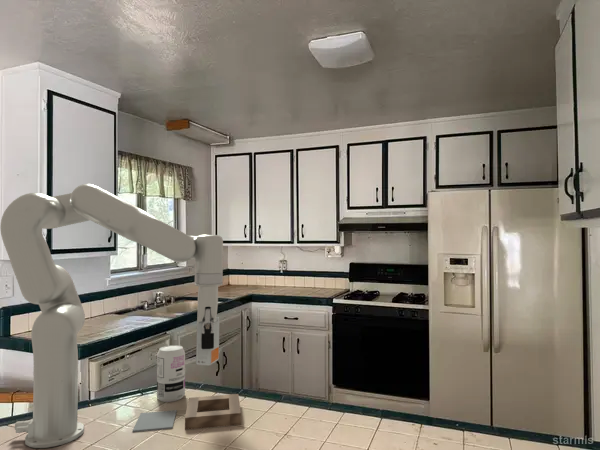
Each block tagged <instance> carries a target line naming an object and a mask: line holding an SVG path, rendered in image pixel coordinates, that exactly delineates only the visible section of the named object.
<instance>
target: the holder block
mask: <svg viewBox="0 0 600 450" xmlns="http://www.w3.org/2000/svg"><path fill="white" fill-rule="evenodd" d="M239 395H240V394H238V393H233V394H223V395H221V394H220V395H219V394H218V395H208V396H198V397H197V396H194V397H188V400H187V406H186V410H185V415H184V431H186V430H198V429H210V428H221V427H231V426H241V425H242V424H241V423H242V419H241V418H242V417H241V415H242V413H241V412H242V411H241V404H240V397H239Z"/></svg>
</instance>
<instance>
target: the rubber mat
mask: <svg viewBox="0 0 600 450" xmlns="http://www.w3.org/2000/svg"><path fill="white" fill-rule="evenodd" d="M177 412H178V410H177V409H174V410H164V411H163V410H161V411H160V410H159V411H151V412H140V414H139V416H138V418H137V421H136V423H135V424H134V426H133V429H132V433H136V432H138V433H139V432H148V431H158V430H172V429H174V424H175V420H176V416H177Z"/></svg>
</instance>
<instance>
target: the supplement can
mask: <svg viewBox="0 0 600 450" xmlns="http://www.w3.org/2000/svg"><path fill="white" fill-rule="evenodd" d="M185 395H186V352H185V349H184V347H183V346H182V345H178V344H177V345H176V344H174V345H165V346H161V347H159V349H158V352H157V353H156V398H157V399H158V401H160V402H164V403H165V402H167V403H168V402H169V403H170V402H171V403H173V402H177V401H179V400H181V399H183V397H184V396H185Z"/></svg>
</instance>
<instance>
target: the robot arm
mask: <svg viewBox="0 0 600 450" xmlns="http://www.w3.org/2000/svg"><path fill="white" fill-rule="evenodd" d="M88 221H91V222H93V223H95V224H98V225H100V226H101V227H103V228H105V229H107V230H108V231H111V232H113V233H115V234H117V235H119V236H120V237H123V238H124V239H125V240H126V239H127V240H129V241H131V242H135V243H137V244H138V245H141V246H143V247H145V248H147V249H149V250H150V251H153V252H155V253H157V254H159V255H161V256H163V257H165V258H167V259H168V260H171V261H173V262H175V263H185V262H188V261H193V260H194V286H196V287H198V290H197V313H196V314H197V317H196V318H197V319H196V323H197V322H198V323H200V322H202V320H203V328H202V338H201V348H202V349H213V348H214V333H213V323H214V322H216V317H218V316H217V314H218V306H219V304H218V303H219V286H224V285H223V281H224V280H223V279H224V278H223V277H224V276H223V275H224V273H223V272H224V271H223V270H224V267H223V265H224V263H223V262H224V261H223V260H224V259H223V258H224V240H223V237H222V236H220V235H218V234H199V235H188V234H187V233H185V232H183V231H180V230H179V229H177V228H175V227H173V226H172V225H170V224H168V223H165V222H164V221H162V220H160V219H157V218H156V217H154V216H153V215H151V214H149V213H148V212H147V211H145V210H144V209H141V208H140V207H138V206H136V205H133V204H132V203H131V202H128V201H126V200H124V199H123V198H120V197H119V196H117V195H115V194H114V193H111V192H109V191H107V190H105V189H104V188H101V187H99V186H97V185H94V184H91V183H84V184H80V185H78V186H77V187H75V188H74V189H73V191H72V192H71V193H70V192H69V193H66V194H59V195H55V196H49V195H47V194H44V193H40V192H29V193H25V194H23V195H20V196H18V197H17V198H15V199H14V200H13V201H12V202H11V203H10V204H9V205H8V206H7V207H6V208H5V210H4V212H3V214H2V216H1V220H0V234H1V239H2V242H3V246H4V248H5V250H6V253H7V255H8V258H9V261H10V265H11V268H12V270H13V273H14V276H15V279H16V281H17V285H18V287H19V289H20V292H21V295H22V297H23V298H24V299H25V301H27V302H28V303H31V304H33V305H38V307H39V309H40V311H41V313H40V314H39V315H38V316H37V317H36V318H35V320H34V322H33V324H32V328H31V336H30V337H31V346H32V353H33V355H32V356H33V372H32V373H33V387H32V388H33V389H32V390H33V394H32V395H33V397H32V399H33V400H32V404H33V405H32V408H33V409H32V411H33V412H32V418H31V419H30V420H20V421H16V422H15V424H14V430H15V433H16V434H20V433H26V436H25V437H24V444H25V446H27V447H29V448H34V449H45V448H46V449H47V448H54V447H57V446H58V447H59V446H62V445H64V444H67V443H70V442H72V441H74V440H77V439H78V438H79V437H81V436H82V435H83V434H84V432H85V424H83V423H82V422H80V421H78V411H79V409H78V408H79V407H78V402H79V400H78V399H79V351H78V333H80V332H81V330H82V329H83V327H84V325H85V322H86V315H85V310H84V308H83V305H82V302H81V299H80V297H79V294H78V291H77V288H76V285H75V283H74V281H73V279H72V276H71V274H70V273H69V272H68V271H67V269H65V268H64V267H63V266H62V265H61V266H60V265H58V264H56V263H55V261H54V258H53V256H52V254H51V250H50V248H49V245H48V243H47V241H46V239H45V237H44V234H43V229H45V230H51V229H57V228H61V227H62V228H63V227H67V226H71V225H75V224H80V223H84V222H88ZM204 320H205V321H204ZM210 320H212V321H210ZM210 324H211V325H210ZM204 332H205V333H204Z"/></svg>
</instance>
